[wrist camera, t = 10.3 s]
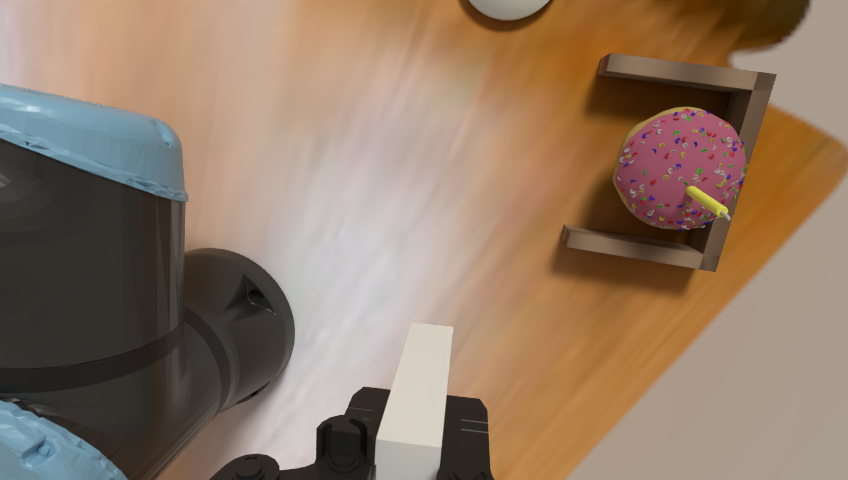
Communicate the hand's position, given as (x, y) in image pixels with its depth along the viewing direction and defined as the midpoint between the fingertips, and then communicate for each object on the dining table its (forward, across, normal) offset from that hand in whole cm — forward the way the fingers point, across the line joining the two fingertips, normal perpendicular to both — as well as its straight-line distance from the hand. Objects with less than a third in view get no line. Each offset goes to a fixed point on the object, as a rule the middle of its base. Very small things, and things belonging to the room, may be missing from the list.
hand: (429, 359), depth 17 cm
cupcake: (+24, +16, +6) cm, 30 cm away
